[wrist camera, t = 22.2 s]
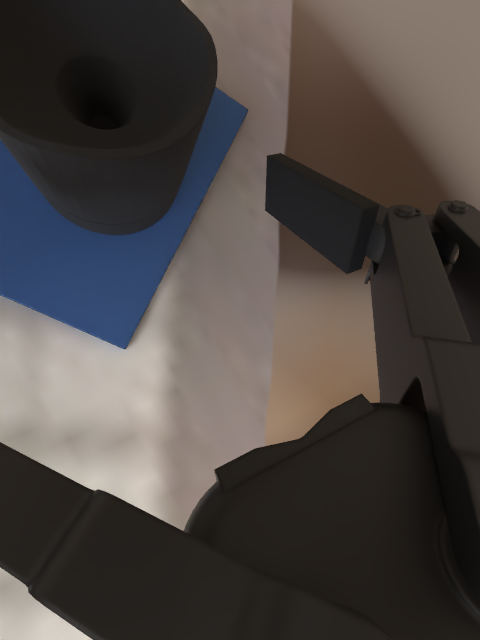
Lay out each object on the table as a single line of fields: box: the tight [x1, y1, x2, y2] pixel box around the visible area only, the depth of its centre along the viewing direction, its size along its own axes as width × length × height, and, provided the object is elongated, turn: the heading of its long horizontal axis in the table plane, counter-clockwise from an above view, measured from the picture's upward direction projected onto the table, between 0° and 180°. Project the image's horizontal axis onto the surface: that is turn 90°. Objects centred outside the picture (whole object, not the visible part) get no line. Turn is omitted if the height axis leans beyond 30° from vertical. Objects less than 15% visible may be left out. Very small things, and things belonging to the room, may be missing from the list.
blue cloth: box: [0, 87, 248, 349], centre depth 21 cm, size 12×20×1 cm, turn 155°
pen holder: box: [0, 0, 217, 235], centre depth 16 cm, size 9×9×10 cm
